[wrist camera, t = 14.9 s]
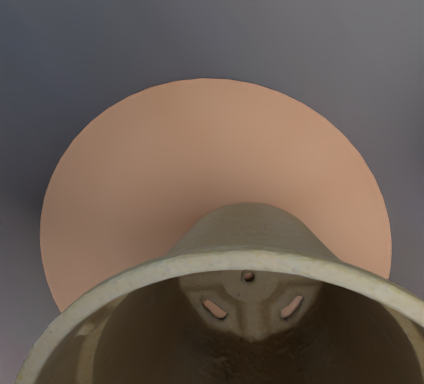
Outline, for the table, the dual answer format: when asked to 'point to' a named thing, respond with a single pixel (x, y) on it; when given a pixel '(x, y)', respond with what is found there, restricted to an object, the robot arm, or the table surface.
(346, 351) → the flower pot
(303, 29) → the table surface
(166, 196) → the saucer
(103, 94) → the table surface
